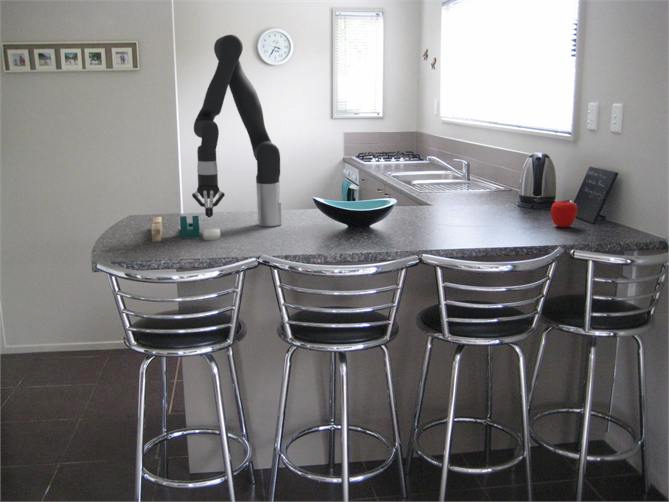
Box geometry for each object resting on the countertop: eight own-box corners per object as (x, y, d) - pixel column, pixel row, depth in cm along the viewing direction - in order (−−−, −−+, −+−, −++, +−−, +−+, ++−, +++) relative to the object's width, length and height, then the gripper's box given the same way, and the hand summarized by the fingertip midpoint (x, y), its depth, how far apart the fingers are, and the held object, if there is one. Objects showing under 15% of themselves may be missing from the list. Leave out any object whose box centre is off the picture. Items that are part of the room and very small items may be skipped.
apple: (545, 227, 259) (547, 199, 256) (556, 223, 266) (558, 196, 263) (569, 230, 253) (572, 202, 250) (580, 226, 259) (582, 199, 257)
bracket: (199, 237, 251) (198, 217, 249) (181, 238, 249) (179, 218, 247) (199, 227, 268) (198, 208, 266) (182, 228, 267) (181, 209, 265)
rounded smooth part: (220, 236, 253) (219, 227, 252) (221, 240, 246) (220, 230, 246) (202, 237, 251) (202, 228, 250) (203, 241, 245) (202, 231, 244)
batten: (162, 227, 268) (161, 216, 266) (160, 241, 245) (159, 229, 244) (154, 228, 267) (153, 216, 266) (152, 241, 244) (151, 229, 243)
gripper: (224, 171, 260) (225, 214, 264) (189, 171, 257) (191, 215, 261) (225, 173, 253) (226, 218, 257) (189, 174, 250) (191, 219, 254)
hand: (209, 216), depth 259 cm, fingers closed
